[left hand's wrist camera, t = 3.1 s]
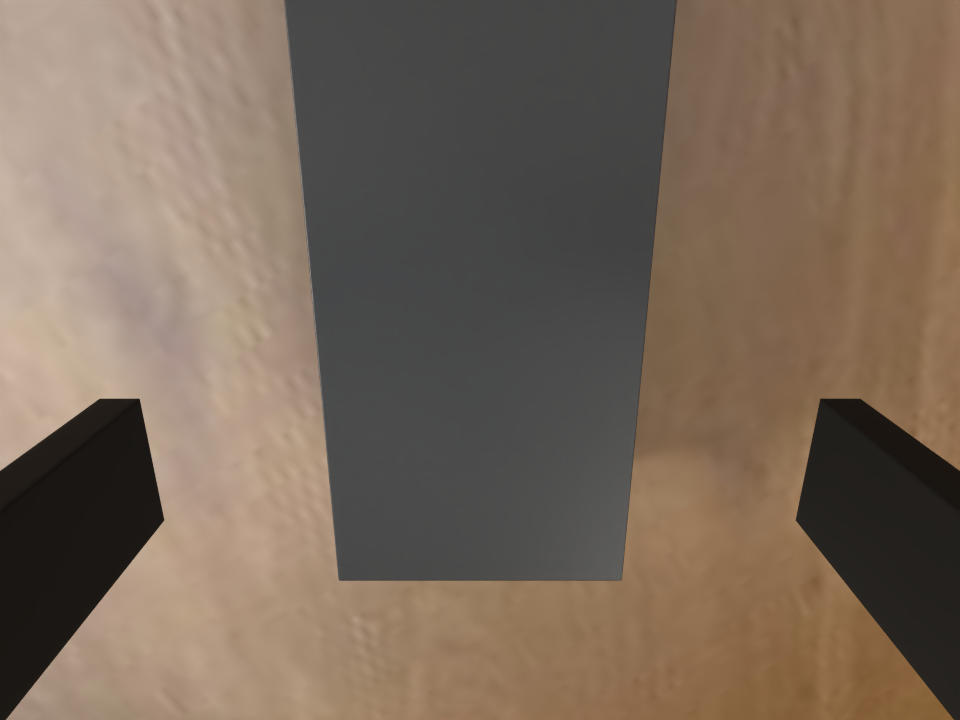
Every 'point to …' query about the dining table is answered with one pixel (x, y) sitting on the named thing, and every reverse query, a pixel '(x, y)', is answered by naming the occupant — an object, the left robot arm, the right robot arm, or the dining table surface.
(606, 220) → the wide beam
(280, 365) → the dining table surface
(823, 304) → the dining table surface
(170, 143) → the dining table surface
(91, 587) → the left robot arm
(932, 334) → the dining table surface
